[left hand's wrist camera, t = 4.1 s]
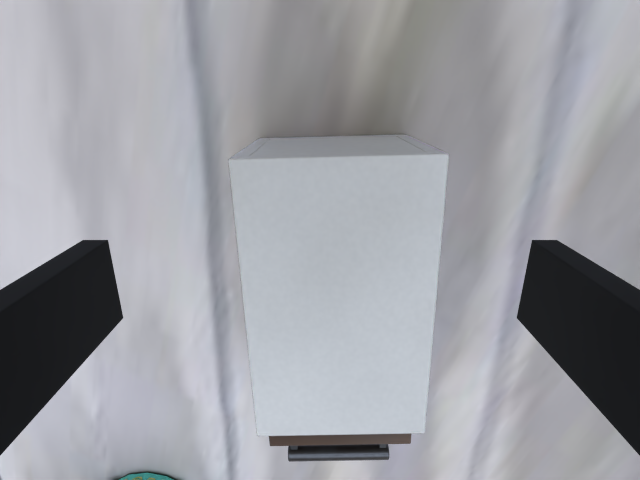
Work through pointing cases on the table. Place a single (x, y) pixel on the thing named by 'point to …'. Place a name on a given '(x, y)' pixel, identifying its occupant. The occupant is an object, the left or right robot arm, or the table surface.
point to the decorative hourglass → (145, 477)
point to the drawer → (339, 446)
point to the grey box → (339, 280)
